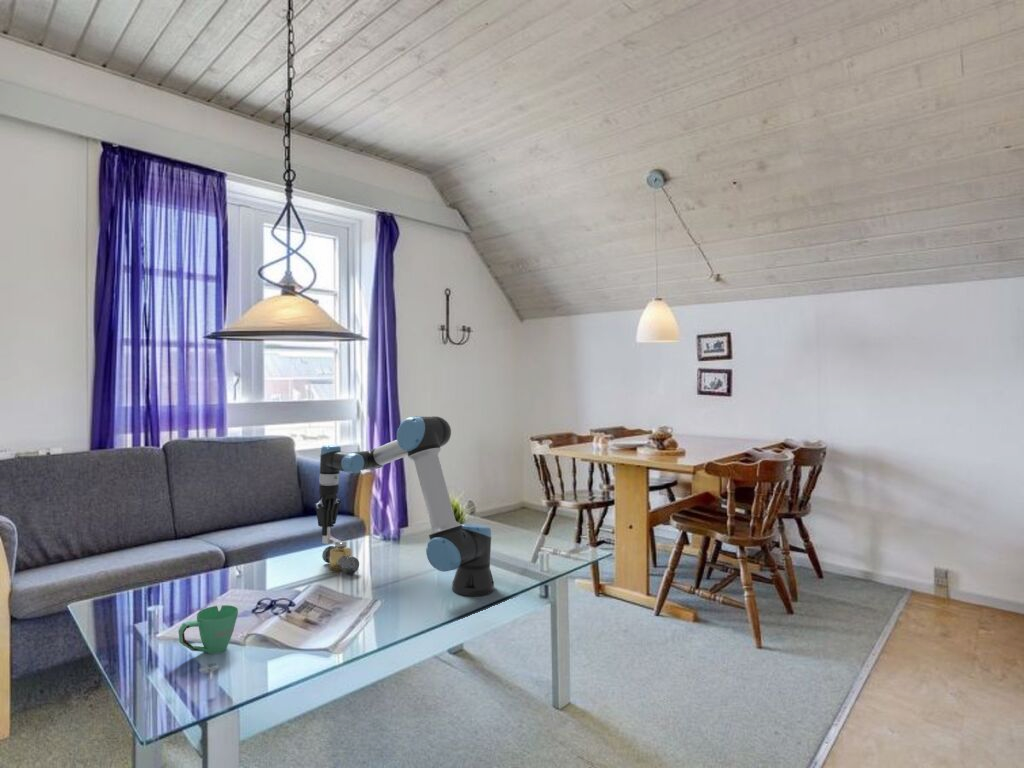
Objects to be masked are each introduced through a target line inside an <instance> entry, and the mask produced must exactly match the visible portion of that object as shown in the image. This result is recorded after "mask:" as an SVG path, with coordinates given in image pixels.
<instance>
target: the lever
mask: <svg viewBox="0 0 1024 768" xmlns="http://www.w3.org/2000/svg"><path fill="white" fill-rule="evenodd" d="M330 544H331V545H333V546H334V547H336V548H344V547H347V548H348V542H347V541H345V540H343V541H342V540H340V539H338V538H335V537H334V535H331V534H330Z"/></svg>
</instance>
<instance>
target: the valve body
mask: <svg viewBox="0 0 1024 768" xmlns="http://www.w3.org/2000/svg"><path fill="white" fill-rule="evenodd" d="M321 556H322V560H323V561H324V562H325V563H327V564H329V569H328V570H329V571H330V572H331V571H332V573H344V574H345V575H347V576H351V575H354V574H355V573H357V572H358V570H359V568H360V561H359V559H358V558H357V557H356V556H352V548H351V547H348V546H347V547H344V548H337V547H335V545H329V546H327V547H326V548H325V549H324V550H323V551H322V554H321Z"/></svg>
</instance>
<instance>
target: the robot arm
mask: <svg viewBox="0 0 1024 768" xmlns="http://www.w3.org/2000/svg"><path fill="white" fill-rule="evenodd" d="M451 436H452V429H451V425H450V424H449V423H448V421H447V420H446V419H444V418H443V417H440V416H417V415H415V416H411V417H407V418H405V419H404V420H403V421H402V422H401V423H400V424H399V427H398V428H397V431H396V439H395V440H393V441H390V442H387V443H385V444H383V445H381V446H377V447H375V448H373V449H370V450H362V451H349V452H347V451H342V450H341V446H340V445H337V444H336V445H335V444H325V445H323V446H321V448H320V449H321V450H320V455H319V457H320V461H319V462H320V463H319V480H318V483H319V485H318V494H319V495H320V496H319V499H318V500H319V501H318V502H317V503H316V502H315V503H314V508H315V510H316V519H317V526H318V527H321V537H322V540H321V541H322V542H321V544H325V545H329V544H331V543H330V535H331V534H332V527H335V524H336V522H337V518H338V513H339V508H340V505H341V503H342V499H339V498H338V494H339V486H340V485H339V482H340V472H344V473H349V474H352V473H353V474H357V473H359V472H360V471H364V470H377V469H380V468H384V467H385V465H387V464H389V463H392V462H395V461H397V460H399V459H402V458H406V457H408V459H409V460H411V461H413V463H414V465H415V469H416V472H417V473H416V474H417V477H418V481H419V485H420V489H421V493H422V496H423V501H424V503H425V507H426V511H427V515H428V519H429V524H430V526H431V530H429V531H430V532H429V533H428V538H429V541H428V543H427V547H426V549H425V550H426V551H425V553H426V558H427V560H428V562H429V564H430V566H432V567H433V568H434V569H436V571H439V572H449V571H453V570H456V571H455V574H454V577H453V580H452V583H451V590H452V591H453V592H454V593H455V594H458V595H462V596H468V597H479V596H485V595H489V594H491V593H493V592H494V591H495V582H494V578H493V575H492V570H491V551H492V550H491V547H492V546H491V545H492V530H491V528H490V527H489V526H487V525H483V524H477V523H460V522H458V521H457V520H456V517H455V513H454V510H453V506H452V503H451V499H450V494H449V490H448V487H447V482H446V481H445V477H444V473H443V469H442V465H441V461H440V457H439V453H440V452H441V450H442V449H441V447H443V446H445V445H447V444H448V442H449V441H450V439H451Z"/></svg>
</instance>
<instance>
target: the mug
mask: <svg viewBox="0 0 1024 768" xmlns="http://www.w3.org/2000/svg"><path fill="white" fill-rule="evenodd" d="M238 614H239V608H238V607H236V606H233V605H229V604H228V605H226V604H225V605H224V604H222V605H221V607H220V610H219V608H218V605H214V606H209V607H205V608H204V609H201V610H199V611H198V612H197V613H196V620H190V621H186V622H183V623H182V624H181V626H180V627H179V628H178V638H179V639H178V640H179V643H180V644H181V645H182V646H185V647H186V648H188V649H189V650H190V651H192V652H203V653H206V654H208V655H209V654H211V655H213V654H214V655H215V654H221V653H223V652H225V651H226V650H227V648H228V646H229V643H230V642H231V639H232V635H233V632H234V630H235V625H236V622H237V619H238ZM194 627H197V628H198V631H199V636H200V637H199V638H200V640H201V643H202V646H197V645H192V644H191V643H190V642H188V641H187V639H186V637H185V636H186V635H185V631H186V630H187V629H190V628H194Z"/></svg>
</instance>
